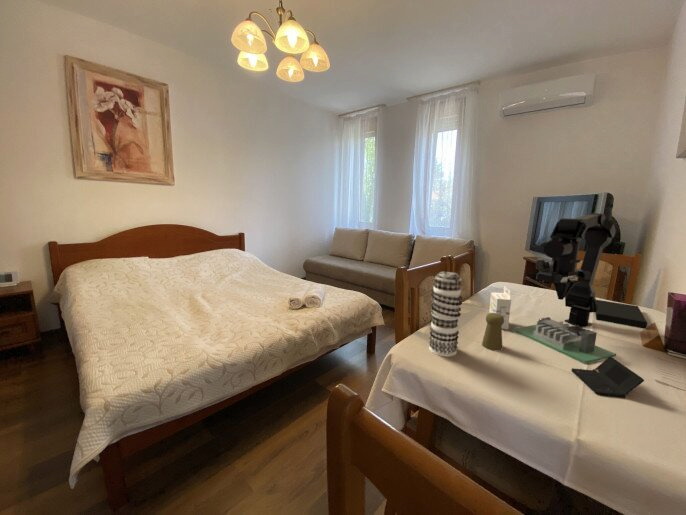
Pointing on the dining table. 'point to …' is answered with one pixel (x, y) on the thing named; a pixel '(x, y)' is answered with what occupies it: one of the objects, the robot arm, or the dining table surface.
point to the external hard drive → (620, 314)
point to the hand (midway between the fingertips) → (560, 299)
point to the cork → (493, 332)
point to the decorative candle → (445, 314)
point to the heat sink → (565, 337)
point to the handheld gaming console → (609, 378)
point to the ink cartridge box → (501, 305)
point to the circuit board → (571, 352)
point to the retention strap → (562, 326)
